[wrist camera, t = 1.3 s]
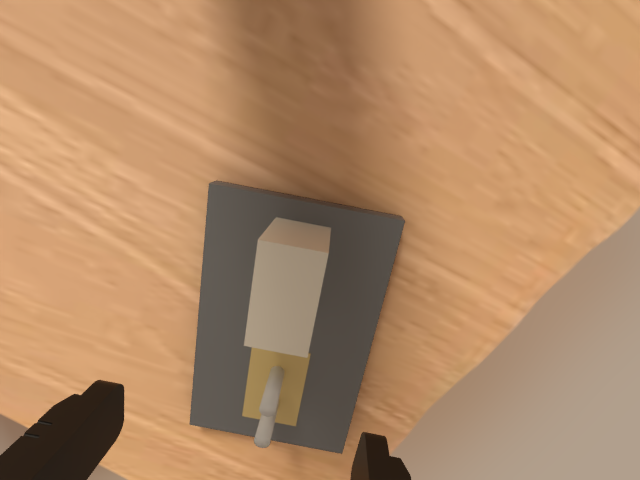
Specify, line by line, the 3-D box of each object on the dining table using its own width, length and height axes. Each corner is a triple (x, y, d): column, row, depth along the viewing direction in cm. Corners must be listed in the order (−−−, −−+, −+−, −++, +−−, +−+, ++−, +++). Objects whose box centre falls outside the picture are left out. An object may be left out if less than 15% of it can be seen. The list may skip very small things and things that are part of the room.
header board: (216, 180, 24) (182, 192, 19) (401, 216, 24) (418, 237, 19) (196, 411, 31) (166, 468, 26) (341, 439, 31) (342, 501, 26)
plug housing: (276, 217, 23) (257, 239, 18) (331, 227, 23) (328, 253, 18) (263, 303, 25) (243, 345, 20) (313, 312, 25) (307, 357, 20)
